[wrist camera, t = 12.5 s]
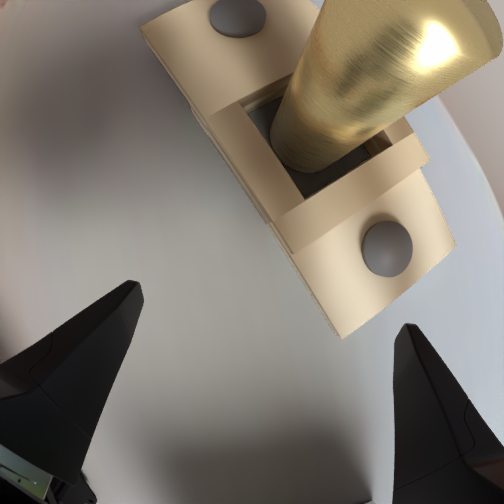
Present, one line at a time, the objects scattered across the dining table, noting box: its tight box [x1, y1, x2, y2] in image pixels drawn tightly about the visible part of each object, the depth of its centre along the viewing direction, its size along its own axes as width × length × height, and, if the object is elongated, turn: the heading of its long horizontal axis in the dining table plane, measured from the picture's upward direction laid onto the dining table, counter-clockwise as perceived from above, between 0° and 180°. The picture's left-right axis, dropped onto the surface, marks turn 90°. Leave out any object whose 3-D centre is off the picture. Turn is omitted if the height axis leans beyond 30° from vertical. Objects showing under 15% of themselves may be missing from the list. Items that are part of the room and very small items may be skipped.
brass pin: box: [270, 0, 503, 173], centre depth 11 cm, size 4×4×14 cm
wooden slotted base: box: [139, 0, 457, 339], centre depth 16 cm, size 10×22×4 cm, turn 33°
